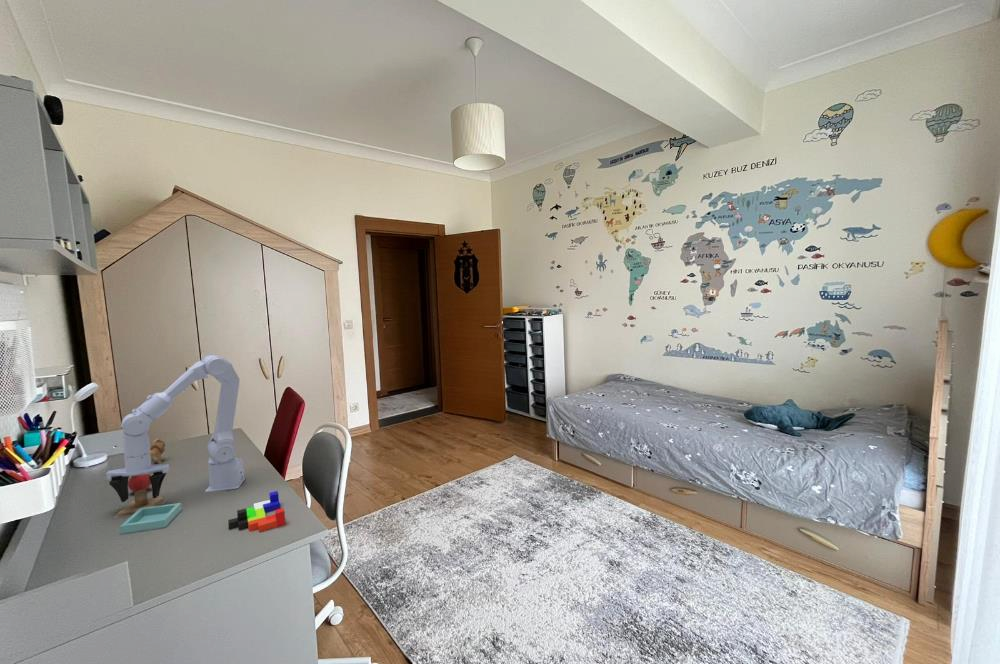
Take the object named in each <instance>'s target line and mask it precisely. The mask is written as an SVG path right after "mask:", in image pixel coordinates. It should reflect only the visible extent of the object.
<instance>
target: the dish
mask: <svg viewBox="0 0 1000 664" xmlns="http://www.w3.org/2000/svg"><path fill="white" fill-rule="evenodd" d="M182 504H183V503H182V502H177V503H172V504H171V503H169V504H163V505H161V506H153V507H146V508H140V509H139V510H138V511H137V512H135V513H134V514H133V515H132V516H129V517H128V518H127V519H126V520H125V521H124V522H123V523H122V524H121V525H119V533H120V535H124V534H125V535H126V534H130V533H138V532H139V533H140V532H146V531H151V530H152V531H153V530H159V529H164V528H165V529H166V528H167V527H168V526H169V525H170V523H171V522H172V521H173V520H174V519H175V518H176V517H177V516H178V515H179V514H180V513H181V512H182V510H183V509H182V508H183V506H182Z"/></svg>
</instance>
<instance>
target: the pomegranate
mask: <svg viewBox="0 0 1000 664" xmlns="http://www.w3.org/2000/svg"><path fill="white" fill-rule="evenodd" d="M151 476H152V474H144V475H135V476H130V477H129V479H128V489H129V490H130V491H132V492H134V493H135V492H137V491H139V490H147V489H149V487H150V486H152V485H151V482H150V479H149V477H151Z"/></svg>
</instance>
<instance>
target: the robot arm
mask: <svg viewBox="0 0 1000 664" xmlns="http://www.w3.org/2000/svg"><path fill="white" fill-rule="evenodd" d="M208 375H210V376H211V377H214V379H216V380H217V382H219V383H220V389H219V390H220V391H219V397H218V404H217V411H216V418H215V426H214V430H213V432H212V434H211V438H210V440H209V442H208V443H207V446H206V453H207V454H208V455H209V456H210V457H209V459H208V462H207V465H208V477H209V481H208V482H209V486H208V487H207V488H206V489H205V490H204V492H205V493H209V492H217V491H225V490H226V491H228V490H236V489H239V488H240V486H241V485H242V484H243V482H245V480H246V477H245V469H244V468H245V467H244V465H245V464H244V460H243V458H241V457H239V458H237V457H235V455H236V447H235V446H234V435H233V429H234V422H235V417H236V416H235V415H236V409H237V401H238V394H239V388H240V378H239V376H238V373H237V372H236V371H235V369H234V366H233V363H231V362H230V361H229V360H227V359H225V357H222V356H218V355H216V354H207V355H205V356H204V357H202V358H201V360H198V361H196V362H195V363H194V364H193V365H192V366H190V367H189V368H188V369H187V370H186V371H185V372H184V373H182V374H181V375H180V376H179V377H178V378H177V379H176V380H175V381H174V382H173V383H172V384H170V386H169V387H167V388H166V389H165V390H164V391H162V392H155V393H154V394H152V395H151V394H149V395H148V396H146V400H145V401H144V402H143V403H142V404H141V405H140V406H138V407H137V408H133V409H132V410H131V412H132V413H128V414H127V415H126V416H124V417H123V419H122V420H121V423H120V427H121V429H122V431H123V435H122V437H123V442H122V443H123V457H124V468H123V467H122V468H118V469H111V470H109V471H107V472H106V476H105V477H106V480H109V482H108V483H109V486H111V488H113V489H114V490H115V492H116V493H117V495H118V497H119V499H120V501H121V503H124V502H126V501H127V500H128V499H129V486H128V481H129V479H130V477H131V476H135V475H144V474H150V475H151V477H149V479H150V482H151V485H150V486H151V489H152V490H151V493H152V494H151V495H152V498H157V497H160V492H161V488H162V485H163V482H164V479H165V477H166V475H167V473H168V472H170V470H171V469H170V464H167V463H166V464H151V457H150V448H151V446H150V445H151V444H150V437H149V433H148V431H149V429H150V426H151V423H153V422H155V421H156V420H157V419H158V418H159V417H161V416H162V415H163V414H164V413H166V411H168V410H169V409H170V408H171V407H172V406H173V402H174V401H173V400H174V399H175V398H176V397H177V396H179V395H180V394H182V392H183V391H185V390H187V388H188V387H190V386H191V385H192V384H193V383H195V382H196V381H198V380H203V379H207V378H209V376H208Z"/></svg>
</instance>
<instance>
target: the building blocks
mask: <svg viewBox="0 0 1000 664" xmlns="http://www.w3.org/2000/svg"><path fill="white" fill-rule="evenodd" d="M268 493H269V494H268V495H269V499H268V500H262V501H260V502H255V503H253V506H252V507H248V508H242V509H237V510H236V514H237V515H236V516H237V517H235V518H231V519H227V520H228V522H227V523H228V526H227V527H228V530H234V529H236V528H238V531H242V530H245V529H248V532H251V531H256V530H258V533H262V532H265V531H269V530H272V529H275V528H278V527H283V526H285V525H286V515H285V513H286V512H285V508H284V507H283V508H281V503H280V499H279V492H278V490H274V491H271V492H268ZM273 511H274V514H271V515H268V516H266V513H270V512H273Z"/></svg>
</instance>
